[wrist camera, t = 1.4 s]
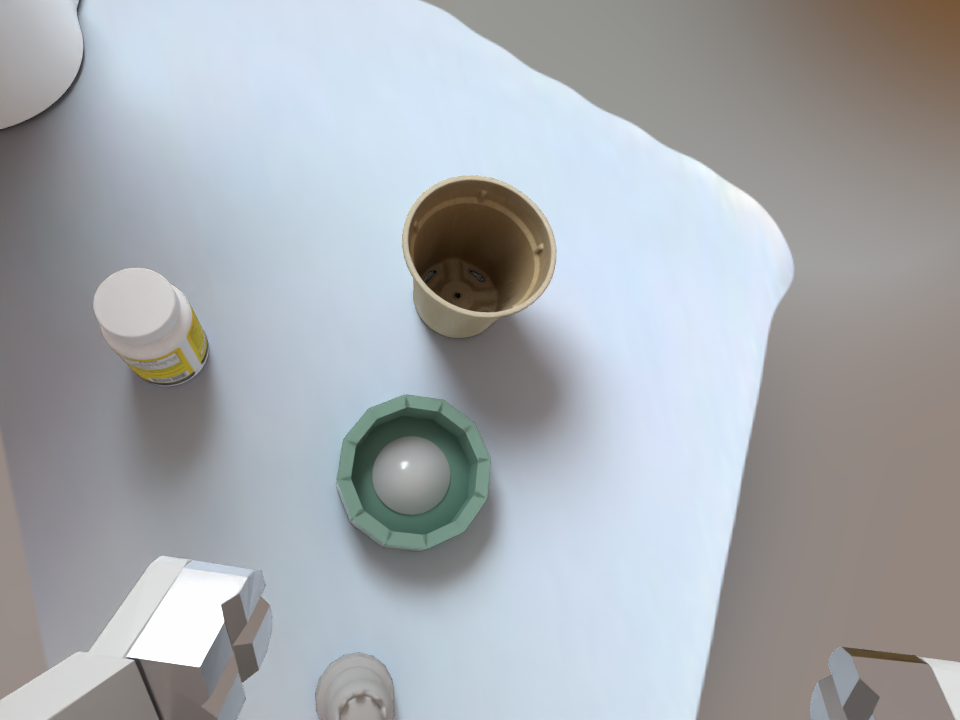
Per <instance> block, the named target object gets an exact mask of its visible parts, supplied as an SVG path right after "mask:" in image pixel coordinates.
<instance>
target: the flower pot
mask: <svg viewBox="0 0 960 720" xmlns="http://www.w3.org/2000/svg"><path fill="white" fill-rule="evenodd" d="M402 247H403V253H404V258H405V261H406V264H407V267H408V269H409V271H410V273H411V275H412V277H413V284H414V290H413V299H414V303H415V307H416V310H417V312H418V314H419V316H420V317H421V319H422V320H423V321H424V322H425V323H426V324H427V326H429V327H430V328H431V329H432V330H434V331H436V332H437V333H439V334H441V335H444V336H447V337H451V338H465V337H472V336H475V335H478V334H479V333H481V332H483V331H484V330H486V329H487V328H488V327H489V326H490V325H491V324H493V323H494V322H495V321H496V320H497V319H499V318H501V317H506V316H509V315H512V314H515V313H517V312H519V311H521V310H523V309H525V308H527V307H528V306H530V305H531V304H532V303H534V302H535V301H536V300H537V299H538V298H539V297H540V296H541V295H542V293H543V292H544V291H545V289H546V288H547V286H548V285H549V283H550V281H551V279H552V276H553V273H554V269H555V263H556V244H555V239H554V235H553V232H552V229H551V227H550V225H549V223H548V220H547V218H546V217H545V215H544V214H543V213H542V212H541V210H540V209H539V208H538V206H537V205H536V204H535V203H534V202H533V201H532V200H531V199H530V198H529V197H527V196H526V195H525V194H523V193H522V192H521V191H519V190H518V189H516V188H514V187H513V186H511V185H509V184H507V183H504V182H502V181H499V180H497V179H493V178H487V177H482V176H473V175H471V176H459V177H453V178H450V179H447V180H444V181H441V182H439V183H437V184H435V185H434V186H432V187H430V188H429V189H428V190H427V191H425V192H424V193H423V194H422V195H421V196H420V197H419V198H418V199H417V201H416V202H415V203H414V205H413V206H412V208H411V209H410V211H409V213H408V216H407V218H406V221H405V225H404V229H403V236H402ZM434 270H435V271H436V272H437V273H435V275H434V276H433V277H432V278H431V279H430V280H429V281H428V283H425V282H424V281H423V280H424V278H425V276H426V275H427V274H428V273H429V272H430V271H434ZM470 270H472V271H474V272H476V273H478V274H479V275H481V276H482V277H483V278H484V281H482V282H480V281H479V280H478V279H477V278H476V277H475V276H473V275H472V274H471V273H470ZM456 293H459V294H460V298H456V297H455V294H456Z"/></svg>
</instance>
